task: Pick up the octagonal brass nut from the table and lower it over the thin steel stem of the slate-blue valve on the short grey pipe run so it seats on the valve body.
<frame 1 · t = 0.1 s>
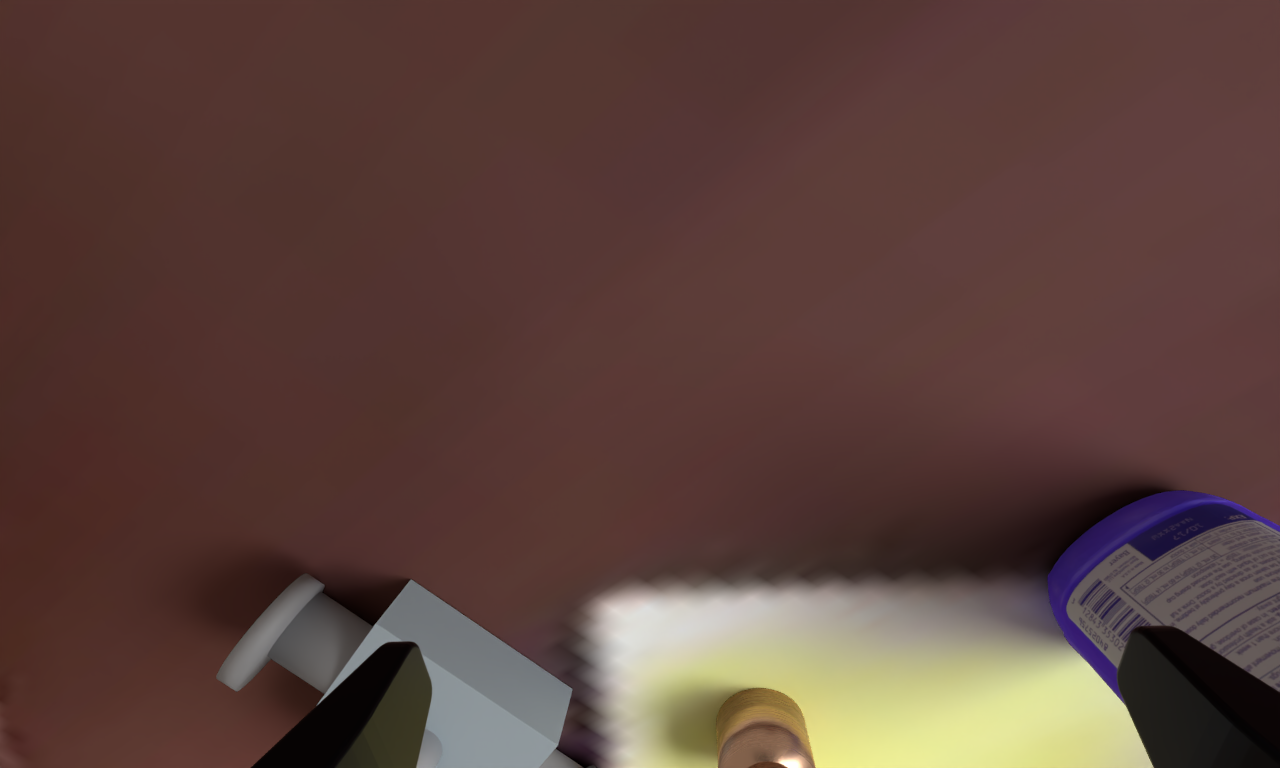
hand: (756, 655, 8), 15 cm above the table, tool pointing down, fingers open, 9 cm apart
cap: (760, 725, 27), on the table
valve: (447, 691, 27), on the table
bottle: (1129, 564, 24), on the table
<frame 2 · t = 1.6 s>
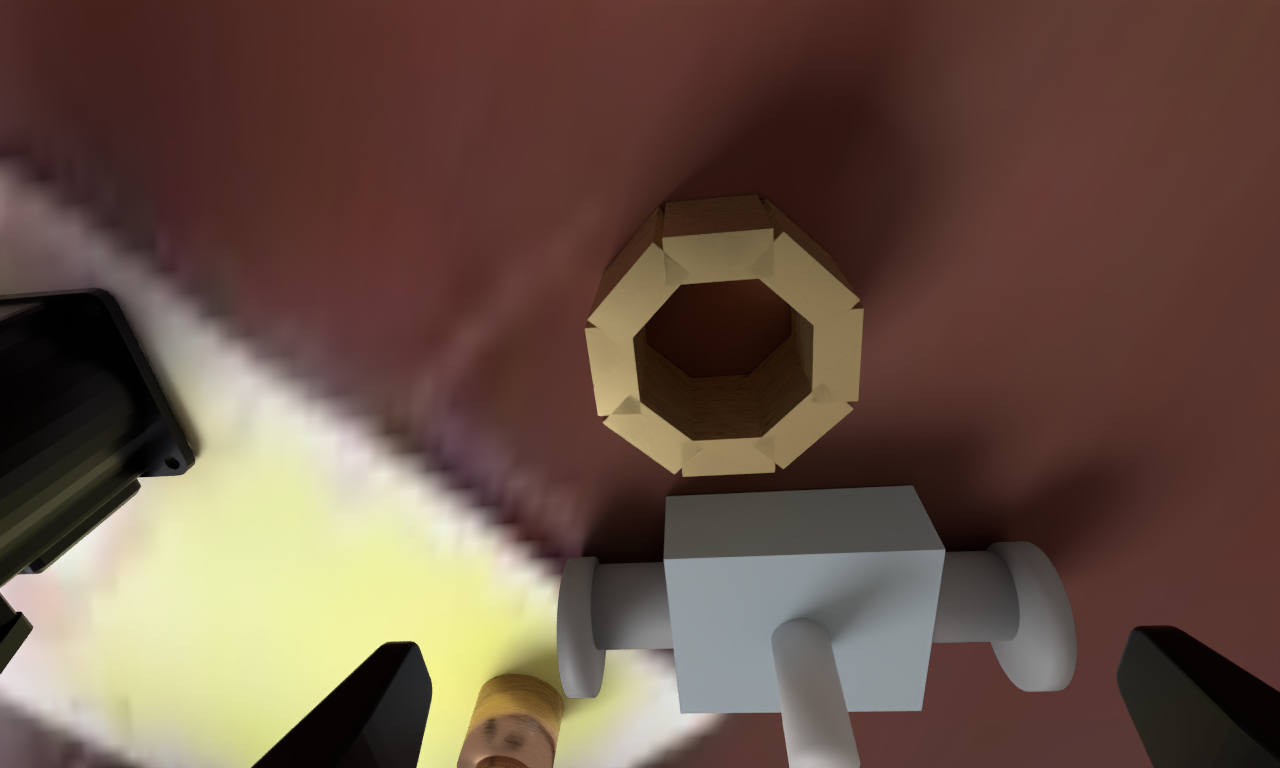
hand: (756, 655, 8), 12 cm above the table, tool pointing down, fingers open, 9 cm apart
nut: (716, 311, 19), on the table
cap: (521, 702, 27), on the table
valve: (786, 570, 23), on the table
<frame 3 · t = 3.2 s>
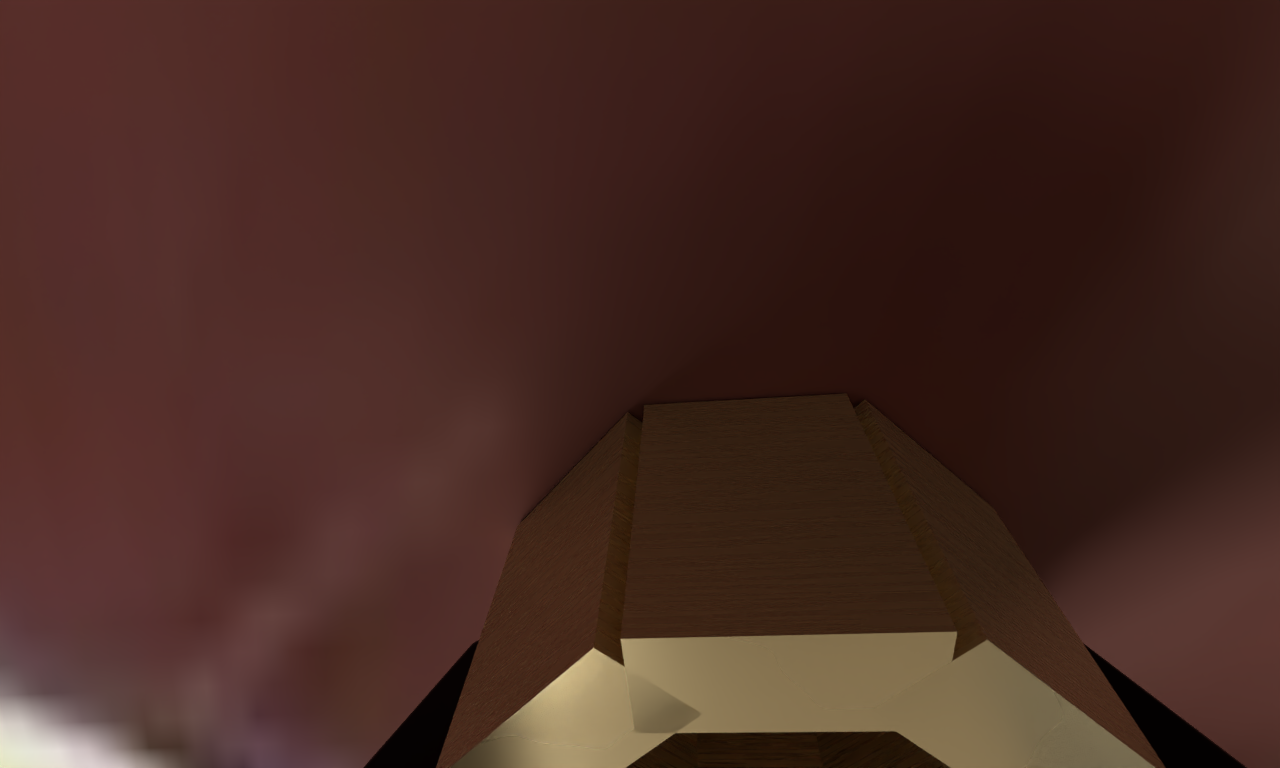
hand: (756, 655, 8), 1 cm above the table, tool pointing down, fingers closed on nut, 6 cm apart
nut: (749, 595, 9), on the table, touching gripper
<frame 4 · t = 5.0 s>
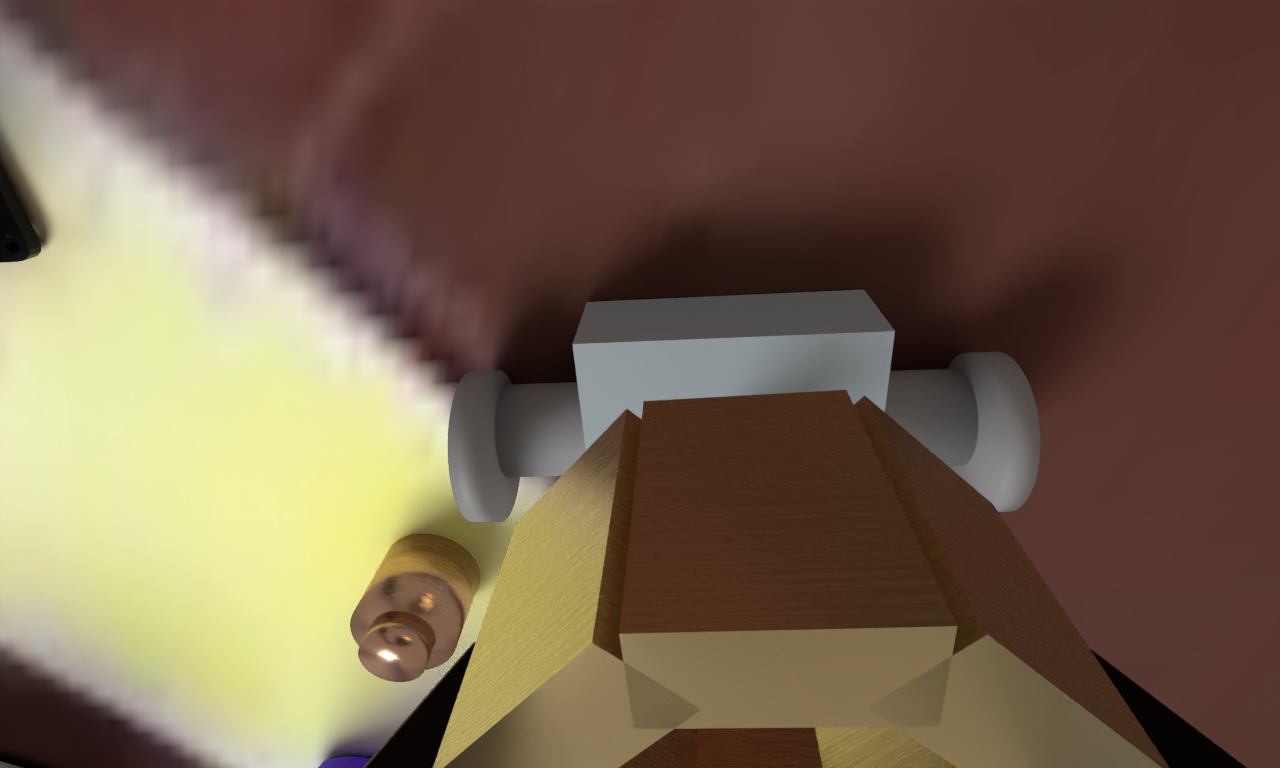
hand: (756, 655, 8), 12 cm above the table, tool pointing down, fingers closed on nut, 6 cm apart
nut: (748, 592, 9), point 11 cm above the table, touching gripper
cap: (432, 570, 25), on the table
valve: (723, 400, 21), on the table
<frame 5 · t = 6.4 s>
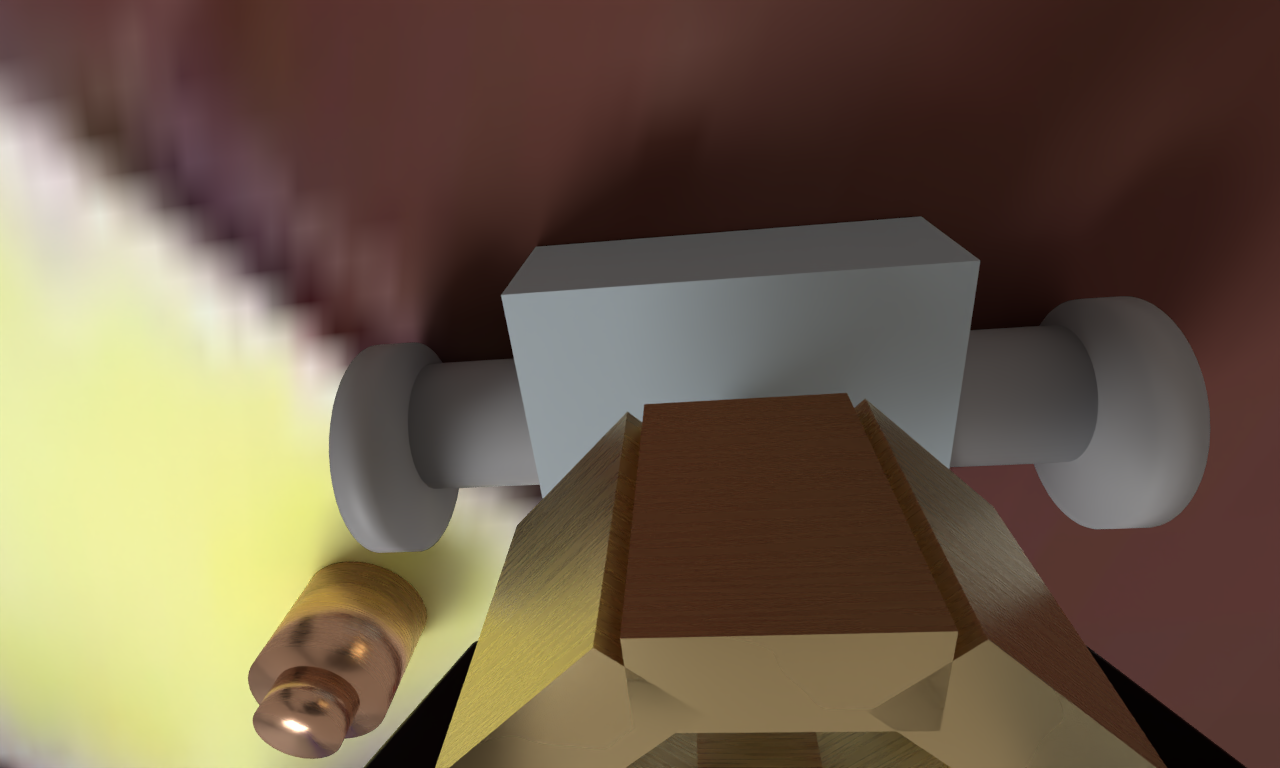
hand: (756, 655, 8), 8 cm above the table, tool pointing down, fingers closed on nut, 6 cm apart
nut: (749, 595, 9), point 7 cm above the table, touching gripper
cap: (367, 606, 20), on the table
valve: (728, 380, 15), on the table
when the fingers open (5 cm above the table, at t = 7.3 s): nut drops 1 cm, resting on valve.
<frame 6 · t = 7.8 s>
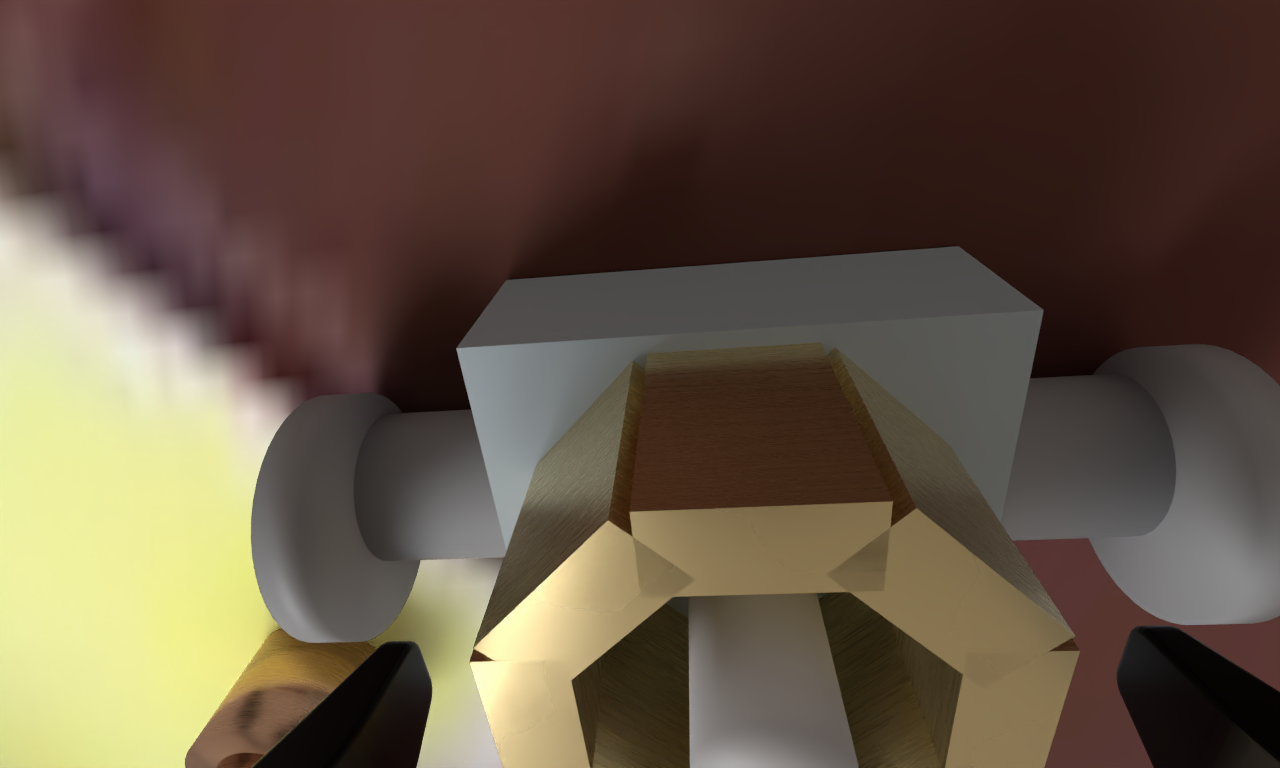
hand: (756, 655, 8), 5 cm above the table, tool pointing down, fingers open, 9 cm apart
nut: (739, 527, 11), point 3 cm above the table, touching valve
cap: (327, 670, 18), on the table
valve: (731, 430, 13), on the table
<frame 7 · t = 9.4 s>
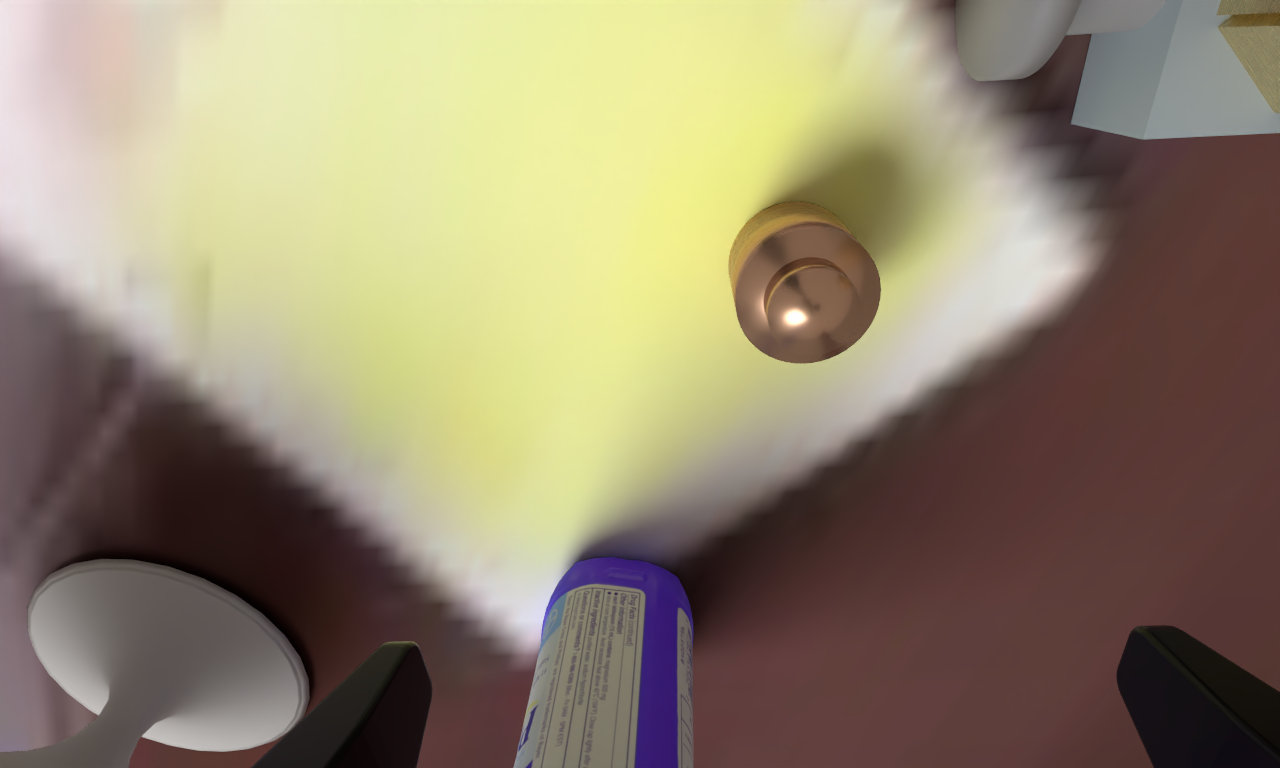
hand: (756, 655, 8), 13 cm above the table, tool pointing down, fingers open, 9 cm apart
cap: (790, 263, 19), on the table
chalice: (180, 652, 29), on the table
bottle: (620, 605, 26), on the table
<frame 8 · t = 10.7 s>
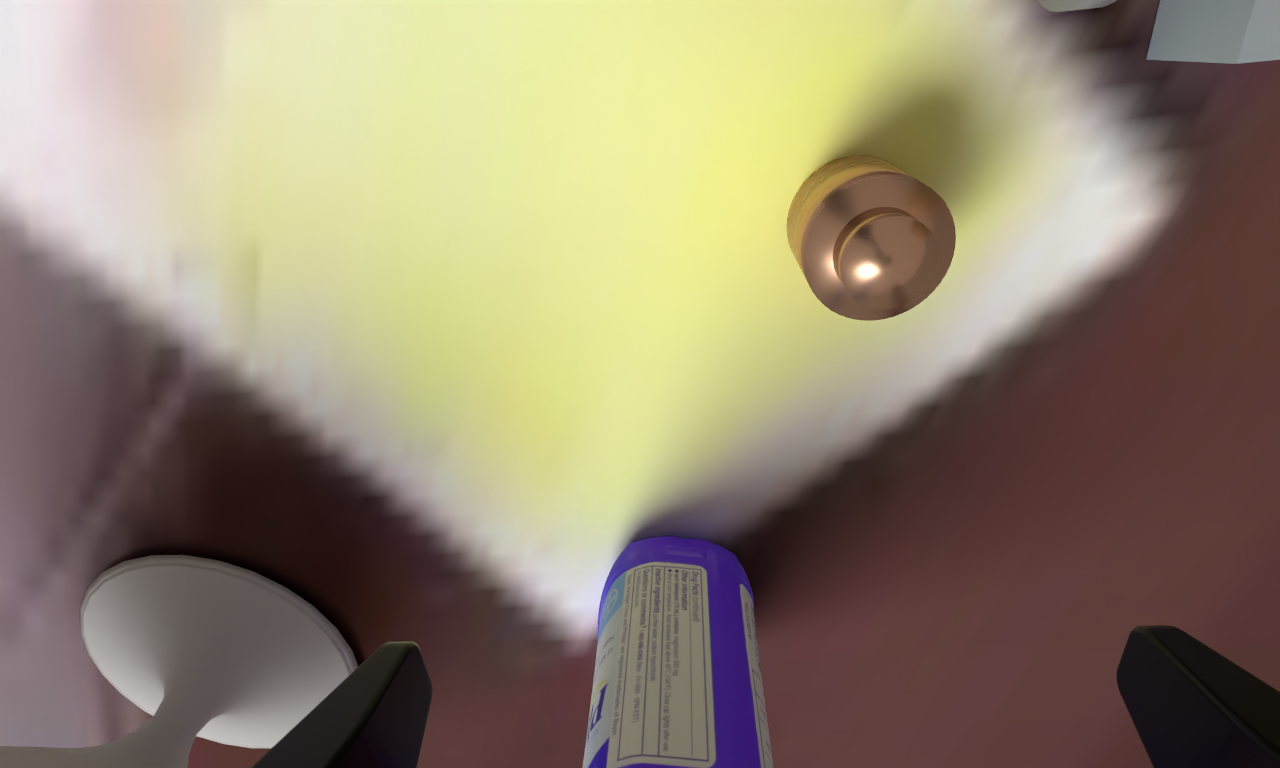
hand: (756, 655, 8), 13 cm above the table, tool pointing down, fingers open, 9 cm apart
cap: (850, 221, 19), on the table
chalice: (231, 648, 29), on the table
bottle: (675, 586, 26), on the table
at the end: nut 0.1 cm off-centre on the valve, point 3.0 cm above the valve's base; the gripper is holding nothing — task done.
